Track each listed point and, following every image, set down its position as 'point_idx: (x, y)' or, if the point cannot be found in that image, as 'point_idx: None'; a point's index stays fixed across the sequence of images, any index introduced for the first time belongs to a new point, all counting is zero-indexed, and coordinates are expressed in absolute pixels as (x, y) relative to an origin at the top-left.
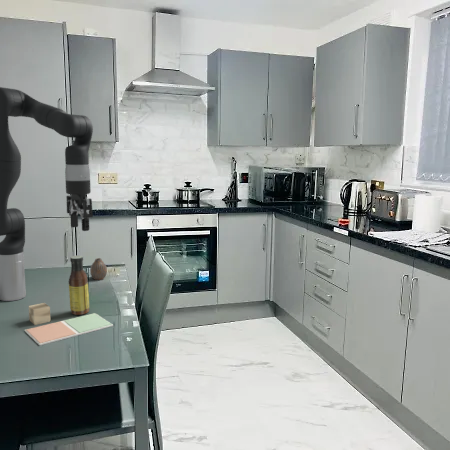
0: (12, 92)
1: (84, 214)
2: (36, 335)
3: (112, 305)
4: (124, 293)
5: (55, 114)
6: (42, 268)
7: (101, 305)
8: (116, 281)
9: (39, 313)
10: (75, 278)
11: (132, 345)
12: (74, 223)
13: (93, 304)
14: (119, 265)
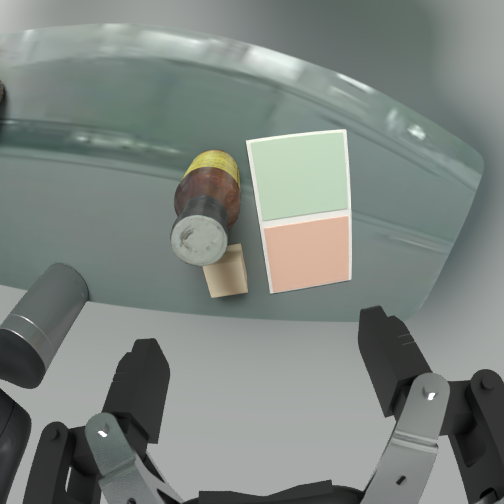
0: None
1: (465, 436)
2: (313, 280)
3: (201, 81)
4: (121, 34)
5: None
6: None
7: (186, 108)
8: (27, 50)
9: (245, 276)
10: (235, 221)
11: (441, 142)
12: (157, 377)
13: (168, 126)
14: None
